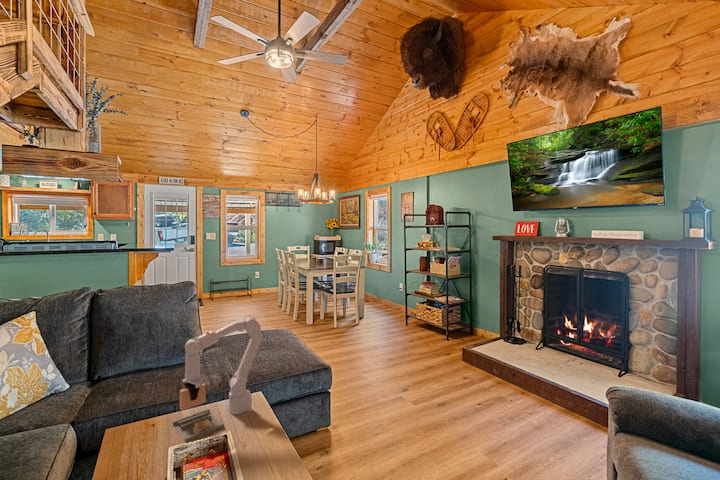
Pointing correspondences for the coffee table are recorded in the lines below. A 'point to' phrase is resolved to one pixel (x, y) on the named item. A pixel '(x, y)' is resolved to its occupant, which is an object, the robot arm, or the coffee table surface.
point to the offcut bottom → (203, 429)
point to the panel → (186, 400)
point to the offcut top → (202, 425)
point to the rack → (188, 424)
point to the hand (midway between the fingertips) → (192, 398)
